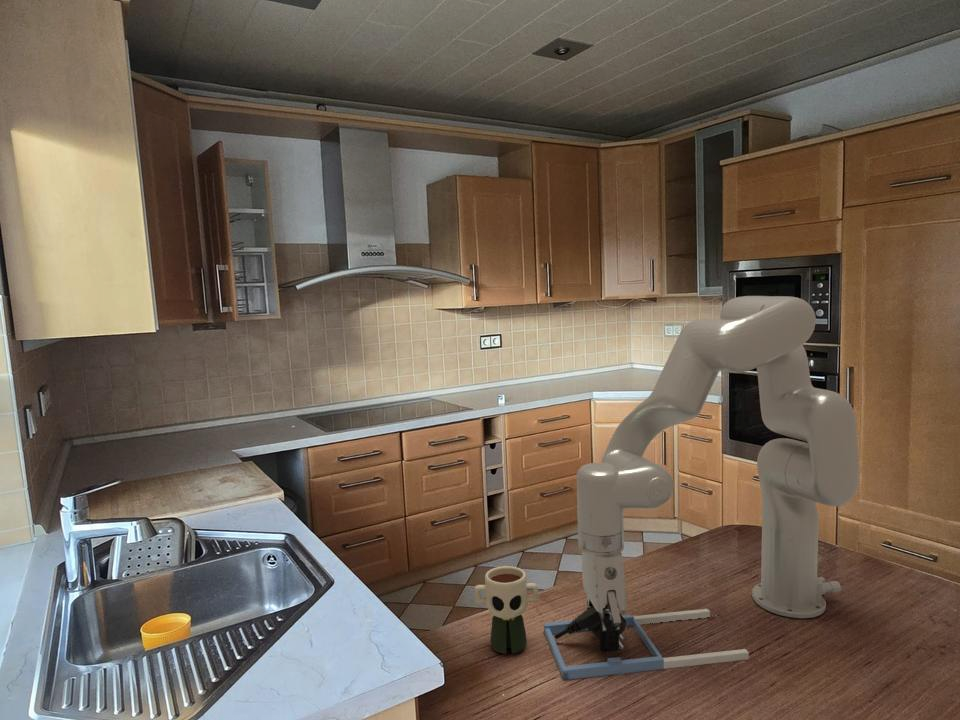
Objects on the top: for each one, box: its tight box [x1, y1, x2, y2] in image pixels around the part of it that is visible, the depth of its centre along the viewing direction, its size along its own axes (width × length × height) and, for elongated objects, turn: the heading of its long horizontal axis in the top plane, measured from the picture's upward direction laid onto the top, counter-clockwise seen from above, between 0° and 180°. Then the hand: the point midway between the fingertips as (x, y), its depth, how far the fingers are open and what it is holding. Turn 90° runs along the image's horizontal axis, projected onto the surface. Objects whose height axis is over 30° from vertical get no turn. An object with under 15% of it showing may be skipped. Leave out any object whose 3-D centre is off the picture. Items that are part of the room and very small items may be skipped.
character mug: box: [474, 565, 539, 654], centre depth 106 cm, size 11×7×13 cm, turn 88°
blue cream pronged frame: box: [543, 608, 750, 681], centre depth 106 cm, size 31×14×2 cm, turn 97°
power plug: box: [554, 606, 627, 651], centre depth 106 cm, size 6×8×12 cm
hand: (602, 638), depth 105 cm, fingers closed on power plug, 5 cm apart
